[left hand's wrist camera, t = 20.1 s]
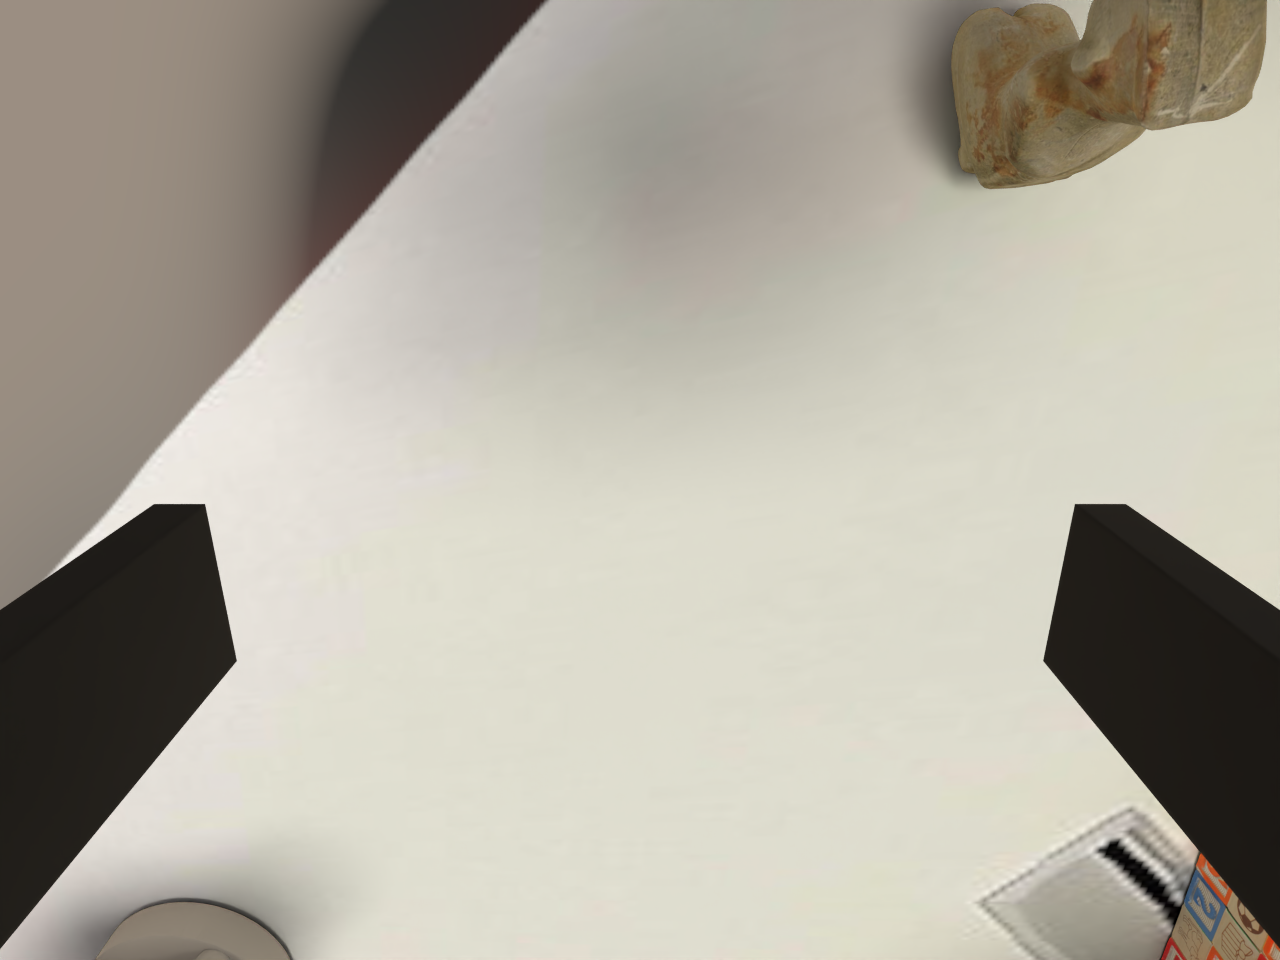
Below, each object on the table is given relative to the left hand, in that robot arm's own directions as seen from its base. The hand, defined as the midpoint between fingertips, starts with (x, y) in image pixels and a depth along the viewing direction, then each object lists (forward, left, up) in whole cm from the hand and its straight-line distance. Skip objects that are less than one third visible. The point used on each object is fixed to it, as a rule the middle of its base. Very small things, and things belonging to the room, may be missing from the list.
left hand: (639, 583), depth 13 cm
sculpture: (-18, +5, -30) cm, 35 cm away
